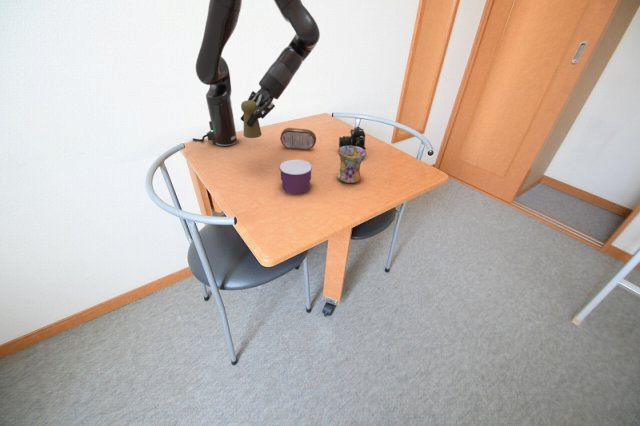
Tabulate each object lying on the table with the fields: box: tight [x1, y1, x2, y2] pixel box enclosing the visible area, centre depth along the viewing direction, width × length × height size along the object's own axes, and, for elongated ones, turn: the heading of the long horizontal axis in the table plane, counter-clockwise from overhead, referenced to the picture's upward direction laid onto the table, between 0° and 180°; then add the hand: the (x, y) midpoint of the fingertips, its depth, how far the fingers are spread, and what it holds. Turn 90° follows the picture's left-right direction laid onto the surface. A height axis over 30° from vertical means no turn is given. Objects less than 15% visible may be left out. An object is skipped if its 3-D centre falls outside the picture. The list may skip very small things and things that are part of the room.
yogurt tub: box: [278, 159, 313, 195], centre depth 89 cm, size 10×10×8 cm
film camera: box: [338, 126, 367, 151], centre depth 113 cm, size 18×12×10 cm
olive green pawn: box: [240, 100, 262, 139], centre depth 90 cm, size 6×6×11 cm
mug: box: [336, 146, 367, 184], centre depth 95 cm, size 12×9×11 cm
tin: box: [279, 127, 317, 151], centre depth 114 cm, size 15×3×8 cm, turn 84°
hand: (245, 123), depth 89 cm, fingers closed on olive green pawn, 4 cm apart
